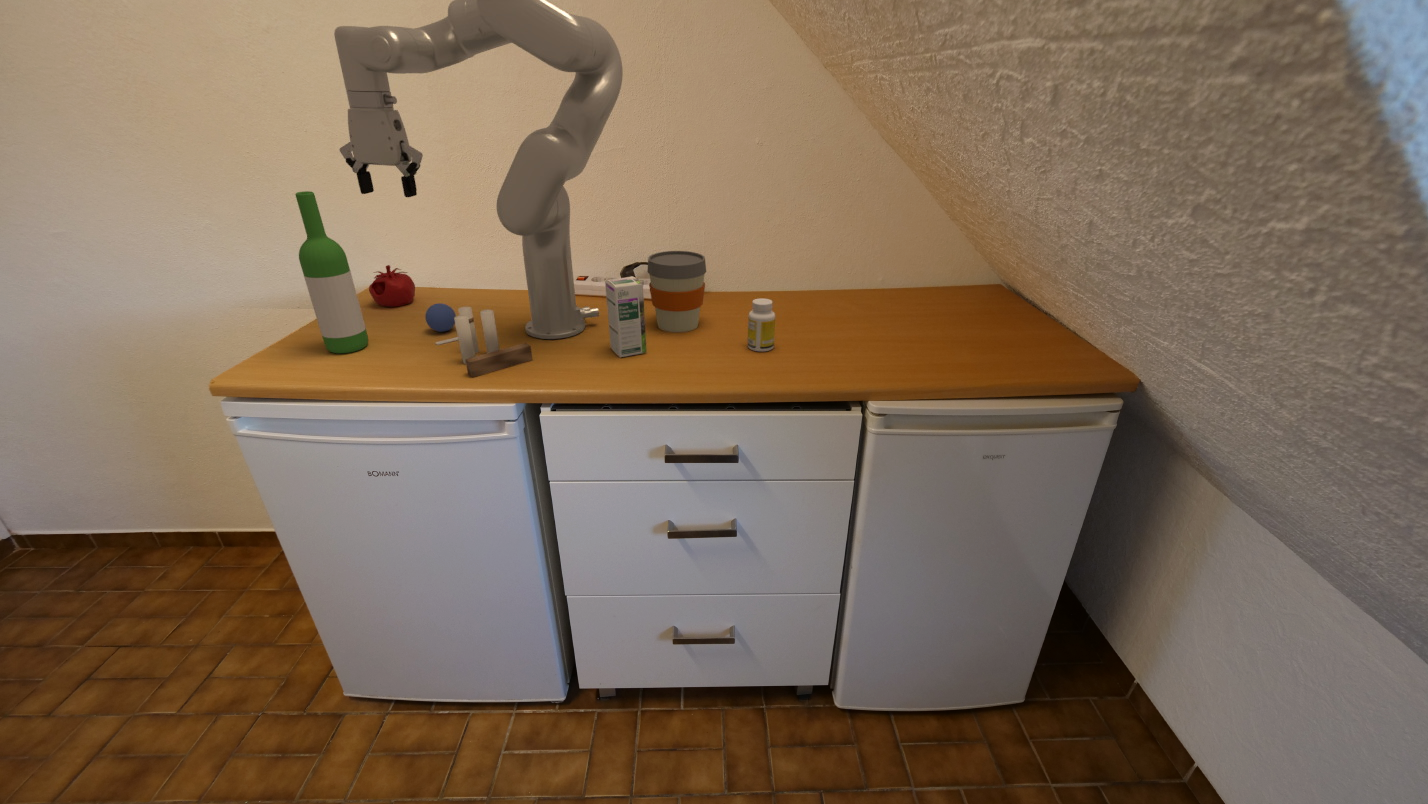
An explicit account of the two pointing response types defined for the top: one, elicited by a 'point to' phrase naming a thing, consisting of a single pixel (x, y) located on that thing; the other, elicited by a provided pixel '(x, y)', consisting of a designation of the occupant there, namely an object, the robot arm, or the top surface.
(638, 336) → the syrup box
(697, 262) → the reusable coffee cup
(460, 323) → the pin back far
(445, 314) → the ball
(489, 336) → the pin back near
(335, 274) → the wine bottle
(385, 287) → the pomegranate
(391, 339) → the top surface
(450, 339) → the tape line
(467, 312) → the pin front
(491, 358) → the back rail
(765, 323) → the supplement bottle
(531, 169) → the robot arm
